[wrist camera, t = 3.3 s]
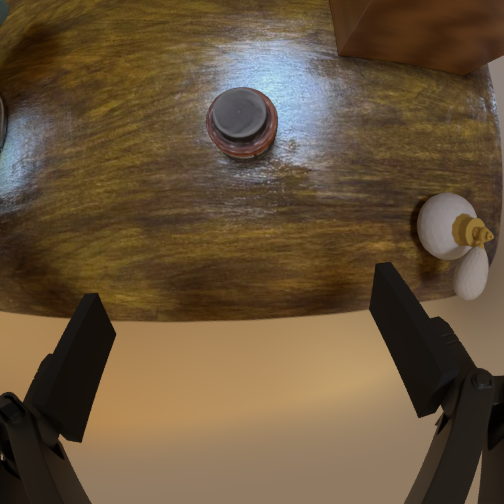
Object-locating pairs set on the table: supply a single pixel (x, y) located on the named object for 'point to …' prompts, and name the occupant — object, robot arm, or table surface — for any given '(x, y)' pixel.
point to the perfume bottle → (456, 240)
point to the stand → (421, 32)
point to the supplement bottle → (243, 124)
